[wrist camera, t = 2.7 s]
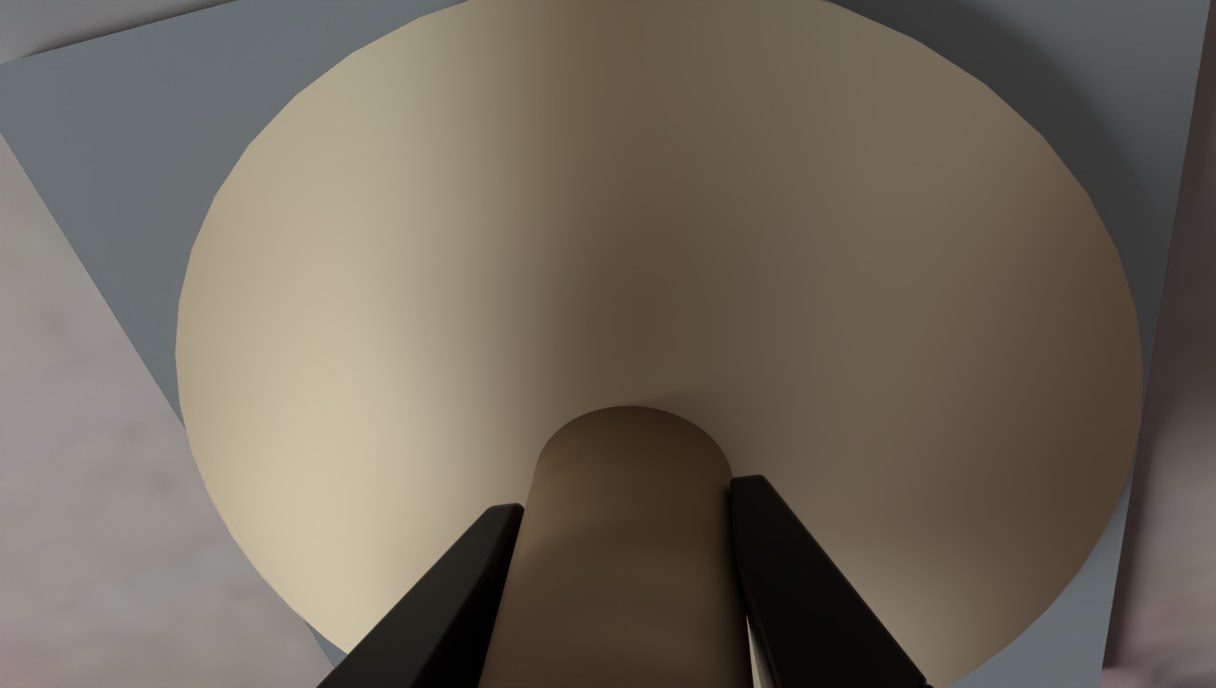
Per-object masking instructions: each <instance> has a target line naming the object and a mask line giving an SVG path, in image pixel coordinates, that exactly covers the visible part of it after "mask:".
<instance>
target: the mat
mask: <svg viewBox="0 0 1216 688" xmlns="http://www.w3.org/2000/svg"><path fill="white" fill-rule="evenodd" d="M466 1H469V0H236V1H232V2H228V3H225V4H221V5H217V6H214V7H210V8H206V9H202V10H199V11H195V12H191V13H188V14H184V15H180V16H176V17H173V18H169V19H165V20H162V21H158V22H154V23H150V24H147V25H143V26H139V27H136V28H132V29H128V30H124V31H121V32H117V33H113V34H110V35H106V36H102V37H98V38H95V39H91V40H87V41H84V42H80V43H76V44H72V45H69V46H65V47H61V48H58V49H54V50H50V51H47V52H43V53H39V54H35V55H32V56H28V57H24V58H21V59H17V60H13V61H9V62H6V63H2V64H0V132H1V134H2V135H3V137H4V139H5V140H6V142H7V143H8V145H9V147H10V148H11V150H12V151H13V153H14V155H15V156H16V158H17V159H18V161H19V163H20V164H21V166H22V167H23V169H24V171H25V172H26V174H27V175H28V177H29V179H30V180H31V182H32V183H33V185H34V187H35V188H36V190H37V192H38V193H39V195H40V196H41V198H42V200H43V201H44V203H45V204H46V206H47V208H48V209H49V211H50V212H51V214H52V216H53V217H54V219H55V220H56V222H57V224H58V225H59V227H60V228H61V230H62V232H63V233H64V235H65V236H66V238H67V240H68V241H69V243H70V245H71V246H72V248H73V249H74V251H75V253H76V254H77V256H78V257H79V259H80V261H81V262H82V264H83V265H84V267H85V269H86V270H87V272H88V273H89V275H90V277H91V278H92V280H93V281H94V283H95V285H96V286H97V288H98V290H99V291H100V293H101V294H102V296H103V298H104V299H105V301H106V302H107V304H108V306H109V307H110V309H111V310H112V312H113V314H114V315H115V317H116V318H117V320H118V322H119V323H120V325H121V326H122V328H123V330H124V331H125V333H126V334H127V336H128V338H129V339H130V341H131V343H132V344H133V346H134V347H135V349H136V351H137V352H138V354H139V355H140V357H141V359H142V360H143V362H144V363H145V365H146V367H147V368H148V370H149V371H150V373H151V375H152V376H153V378H154V379H155V381H156V383H157V384H158V386H159V387H160V389H161V391H162V392H163V394H164V396H165V397H166V399H167V400H168V402H169V404H170V405H171V407H172V408H173V410H174V412H175V413H176V415H177V416H178V418H179V420H180V421H181V423H182V424H183V426H184V428H185V429H186V427H185V423H184V419H183V415H182V411H181V407H180V401H179V390H178V379H177V368H176V358H175V350H176V336H177V322H178V307H179V300H180V296H181V292H182V287H183V283H184V279H185V275H186V271H187V267H188V263H189V259H190V254H191V250H192V248H193V245H194V243H195V241H196V238H197V236H198V234H199V232H200V229H201V227H202V225H203V222H204V220H205V218H206V216H207V213H208V211H209V209H210V206H211V204H212V202H213V199H214V197H215V195H216V194H217V192H218V191H219V189H220V188H221V186H222V185H223V183H224V182H225V180H226V179H227V177H228V176H229V174H230V173H231V171H232V170H233V168H234V167H235V165H236V164H237V162H238V161H239V159H240V158H241V156H242V155H243V153H244V152H245V150H246V149H247V147H248V146H249V144H250V143H251V142H252V141H253V140H254V139H255V138H256V137H257V136H258V135H259V134H260V133H261V132H262V130H263V129H264V128H265V127H266V126H267V125H268V124H269V123H270V122H271V121H272V120H273V119H274V118H275V117H276V116H277V115H278V114H279V112H280V111H281V110H282V109H283V108H284V107H285V106H286V105H287V104H288V103H289V102H290V101H291V100H292V99H293V98H294V97H295V96H296V95H297V94H298V93H300V92H301V91H302V90H304V89H305V88H306V87H308V86H309V85H310V84H312V83H313V82H314V81H316V80H317V79H318V78H320V77H321V76H322V75H324V74H325V73H326V72H328V71H329V70H330V69H332V68H333V67H334V66H335V65H337V64H338V63H339V62H341V61H342V60H343V59H345V58H346V57H347V56H349V55H350V54H351V53H353V52H355V51H357V50H359V49H361V48H363V47H364V46H366V45H368V44H370V43H372V42H374V41H376V40H378V39H380V38H381V37H383V36H385V35H387V34H389V33H391V32H393V31H395V30H397V29H399V28H400V27H402V26H404V25H406V24H408V23H410V22H412V21H414V20H416V19H417V18H419V17H422V16H425V15H428V14H431V13H434V12H437V11H440V10H442V9H445V8H448V7H451V6H454V5H457V4H460V3H463V2H466ZM828 1H830V2H833V3H835V4H837V5H839V6H842V7H844V8H846V9H848V10H851V11H853V12H855V13H857V14H860V15H862V16H864V17H867V18H869V19H871V20H873V21H876V22H878V23H880V24H882V25H885V26H887V27H889V28H891V29H894V30H896V31H898V32H900V33H902V34H904V35H907V36H909V37H911V38H913V39H915V40H917V41H919V42H920V43H922V44H924V45H925V46H927V47H928V48H930V49H931V50H933V51H934V52H936V53H938V54H939V55H941V56H942V57H944V58H945V59H947V60H948V61H950V62H952V63H953V64H955V65H956V66H958V67H959V68H961V69H962V70H964V71H965V72H967V73H969V74H970V75H972V76H973V77H975V78H976V79H978V80H979V81H981V82H983V83H984V84H986V85H987V86H988V87H989V88H990V89H991V90H992V91H993V92H995V93H996V94H997V95H998V96H999V97H1000V98H1001V99H1002V100H1003V101H1004V102H1006V103H1007V104H1008V105H1009V106H1010V107H1011V108H1012V109H1013V110H1014V111H1015V112H1017V113H1018V114H1019V115H1020V116H1021V117H1022V118H1023V119H1024V120H1025V121H1027V122H1028V123H1029V124H1030V125H1031V126H1032V127H1033V128H1034V129H1035V130H1036V131H1038V132H1039V133H1040V134H1041V135H1042V136H1043V137H1044V138H1045V140H1046V141H1047V142H1048V144H1049V145H1050V146H1051V147H1052V149H1053V150H1054V151H1055V153H1056V154H1057V155H1058V156H1059V158H1060V159H1061V160H1062V162H1063V163H1064V164H1065V165H1066V167H1067V168H1068V169H1069V171H1070V172H1071V173H1072V174H1073V176H1074V177H1075V178H1076V179H1077V181H1078V182H1079V183H1080V185H1081V186H1082V187H1083V188H1084V190H1085V191H1086V192H1087V194H1088V196H1089V198H1090V200H1091V202H1092V203H1093V205H1094V207H1095V209H1096V211H1097V213H1098V215H1099V217H1100V219H1101V221H1102V222H1103V224H1104V226H1105V228H1106V230H1107V232H1108V234H1109V236H1110V238H1111V240H1112V241H1113V243H1114V245H1115V247H1116V249H1117V251H1118V254H1119V257H1120V260H1121V263H1122V266H1123V270H1124V273H1125V276H1126V279H1127V282H1128V286H1129V289H1130V292H1131V295H1132V299H1133V302H1134V305H1135V308H1136V311H1137V319H1138V328H1139V336H1140V345H1141V353H1142V362H1143V386H1142V402H1141V417H1140V428H1139V432H1138V436H1137V440H1136V445H1135V449H1134V453H1133V457H1132V461H1131V465H1130V469H1129V474H1128V478H1127V480H1126V483H1125V485H1124V487H1123V490H1122V492H1121V495H1120V497H1119V499H1118V502H1117V504H1116V506H1115V509H1114V511H1113V513H1112V516H1111V518H1110V521H1109V523H1108V525H1107V527H1106V529H1105V531H1104V532H1103V534H1102V535H1101V537H1100V539H1099V540H1098V542H1097V544H1096V545H1095V547H1094V548H1093V550H1092V552H1091V553H1090V555H1089V557H1088V558H1087V560H1086V561H1085V563H1084V565H1083V566H1082V568H1081V570H1080V571H1079V572H1078V573H1077V575H1076V576H1075V577H1074V578H1073V579H1072V581H1071V582H1070V583H1069V584H1068V585H1067V587H1066V588H1065V589H1064V590H1063V591H1062V593H1061V594H1060V595H1059V596H1058V598H1057V599H1056V600H1055V601H1054V602H1053V604H1052V605H1051V606H1050V607H1049V608H1048V609H1047V610H1046V611H1045V612H1044V613H1043V614H1042V615H1041V616H1040V617H1039V618H1038V619H1037V620H1036V621H1035V622H1034V623H1033V624H1031V625H1030V626H1029V627H1028V628H1027V629H1026V630H1025V631H1024V632H1023V633H1022V634H1021V635H1020V636H1019V637H1018V638H1017V639H1015V640H1014V641H1013V642H1012V643H1011V644H1010V645H1008V646H1007V647H1005V648H1004V649H1003V650H1001V651H1000V652H999V653H997V654H996V655H995V656H993V657H992V658H991V659H989V660H988V661H987V662H985V663H984V664H983V665H981V666H980V667H979V668H977V669H976V670H974V671H973V672H971V673H970V674H968V675H966V676H965V677H963V678H961V679H959V680H958V681H956V682H954V683H953V684H951V685H949V686H948V687H946V688H1099V683H1100V677H1101V671H1102V665H1103V659H1104V652H1105V646H1106V640H1107V634H1108V628H1109V622H1110V616H1111V609H1112V603H1113V597H1114V591H1115V585H1116V579H1117V573H1118V566H1119V560H1120V554H1121V548H1122V542H1123V536H1124V529H1125V523H1126V517H1127V511H1128V505H1129V499H1130V493H1131V486H1132V480H1133V474H1134V468H1135V462H1136V456H1137V450H1138V443H1139V437H1140V431H1141V425H1142V419H1143V413H1144V406H1145V400H1146V394H1147V388H1148V382H1149V376H1150V370H1151V363H1152V357H1153V351H1154V345H1155V339H1156V333H1157V326H1158V320H1159V314H1160V308H1161V302H1162V296H1163V290H1164V283H1165V277H1166V271H1167V265H1168V259H1169V253H1170V247H1171V240H1172V234H1173V228H1174V222H1175V216H1176V210H1177V203H1178V197H1179V191H1180V185H1181V179H1182V173H1183V167H1184V160H1185V154H1186V148H1187V142H1188V136H1189V130H1190V124H1191V117H1192V111H1193V105H1194V99H1195V93H1196V87H1197V80H1198V74H1199V68H1200V62H1201V56H1202V50H1203V44H1204V37H1205V31H1206V25H1207V19H1208V13H1209V7H1210V1H1211V0H828ZM305 622H306V624H307V625H308V627H309V628H310V630H311V632H312V633H313V635H314V636H315V638H316V640H317V641H318V643H319V644H320V646H321V648H322V649H323V651H324V652H325V654H326V656H327V657H328V659H329V661H330V662H331V664H332V665H333V667H334V668H335V667H336V666H337V665H338V664H339V663H340V662H341V661H342V660H343V659H344V658H345V657H346V656H347V655H348V654H347V653H345V652H344V651H343V650H341V649H340V648H338V647H337V646H336V645H334V644H333V643H332V642H330V641H329V640H327V639H326V638H325V637H324V636H322V635H321V634H320V633H319V632H318V631H317V630H316V629H315V628H313V627H312V626H311V625H310V624H309V623H308V622H307V621H305Z"/></svg>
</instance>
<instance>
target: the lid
mask: <svg viewBox="0 0 1216 688" xmlns="http://www.w3.org/2000/svg"><path fill="white" fill-rule="evenodd" d="M175 358H176V368H177V379H178V390H179V401H180V407H181V411H182V415H183V419H184V423H185V427H186V431H187V435H188V440H189V444H190V448H191V452H192V454H193V457H194V459H195V461H196V464H197V466H198V469H199V471H200V474H201V476H202V479H203V481H204V484H205V486H206V489H207V491H208V494H209V496H210V498H211V500H212V501H213V503H214V505H215V507H216V508H217V510H218V512H219V514H220V516H221V517H222V519H223V521H224V523H225V524H226V526H227V528H228V530H229V531H230V533H231V535H232V537H233V538H234V539H235V541H236V542H237V544H238V545H239V546H240V548H241V549H242V550H243V552H244V553H245V554H246V556H247V557H248V558H249V560H250V561H251V563H252V564H253V565H254V567H255V568H256V569H257V571H258V572H259V573H260V575H261V576H262V577H263V578H264V579H265V580H266V581H267V582H268V583H269V584H270V585H271V587H272V588H273V589H274V590H275V591H276V592H277V593H278V594H279V595H280V596H281V597H282V599H283V600H284V601H285V602H286V603H287V604H288V605H289V606H290V607H291V608H292V609H293V610H294V611H295V612H296V613H298V614H299V615H300V616H301V617H302V618H303V619H304V620H305V621H307V622H308V623H309V624H310V625H311V626H312V627H313V628H315V629H316V630H317V631H318V632H319V633H320V634H321V635H322V636H324V637H325V638H326V639H327V640H329V641H330V642H332V643H333V644H334V645H336V646H337V647H338V648H340V649H341V650H343V651H344V652H345V653H347V654H349V653H350V652H351V650H352V649H353V648H354V647H355V646H356V645H357V644H358V643H359V642H360V641H361V640H362V639H363V638H364V637H365V636H366V635H367V634H368V633H369V632H370V631H371V630H372V628H373V627H374V626H375V625H376V624H377V623H378V622H379V621H380V620H381V619H382V618H383V617H384V616H385V615H386V614H387V613H388V612H389V611H390V610H391V609H392V608H393V606H394V605H395V604H396V603H397V602H398V601H399V600H400V599H401V598H402V597H403V596H404V595H405V594H406V593H407V592H408V591H409V590H410V589H411V588H412V587H413V586H414V585H415V583H416V582H417V581H418V580H419V579H420V578H421V577H422V576H423V575H424V574H425V573H426V572H427V571H428V570H429V569H430V568H431V567H432V566H433V565H434V564H435V563H436V561H437V560H438V559H439V558H440V557H441V556H442V555H443V554H444V553H445V552H446V551H447V550H448V549H449V548H450V547H451V546H452V545H453V544H454V543H455V542H456V541H457V539H458V538H459V537H460V536H461V535H462V534H463V533H464V532H465V531H466V530H467V529H468V528H469V527H470V526H471V525H472V524H473V523H474V522H475V521H476V520H477V519H478V517H479V516H480V515H481V514H482V513H483V512H484V511H485V510H486V509H487V508H489V507H490V506H493V505H500V504H508V503H519V504H521V505H522V506H523V507H524V509H525V510H524V514H523V518H522V522H521V525H520V529H519V533H518V537H517V541H516V544H515V548H514V552H513V556H512V560H511V563H510V567H509V571H508V575H507V579H506V582H505V586H504V590H503V594H502V598H501V601H500V605H499V609H498V613H497V617H496V620H495V624H494V628H493V632H492V636H491V639H490V643H489V647H488V651H487V655H486V658H485V662H484V666H483V670H482V674H481V677H480V681H479V685H478V688H761V684H760V680H759V675H758V671H757V666H756V661H755V656H754V651H753V646H752V640H751V635H750V630H749V625H748V619H747V614H746V608H745V603H744V598H743V593H742V588H741V583H740V578H739V573H738V567H737V562H736V557H735V551H734V543H733V530H732V516H731V501H730V486H729V484H730V480H731V479H732V478H733V477H739V476H747V475H756V474H761V475H763V476H765V477H766V478H767V479H768V480H769V482H770V483H771V484H772V485H773V487H774V488H775V489H776V491H777V492H778V493H779V494H780V496H781V497H782V498H783V499H784V501H785V502H786V503H787V504H788V506H789V507H790V508H791V509H792V511H793V512H794V513H795V514H796V516H797V517H798V518H799V519H800V521H801V522H802V523H803V524H804V526H805V527H806V528H807V529H808V531H809V532H810V533H811V534H812V536H813V537H814V538H815V539H816V541H817V542H818V543H819V544H820V546H821V547H822V548H823V549H824V551H825V552H826V553H827V554H828V556H829V557H830V558H831V560H832V561H833V562H834V563H835V565H836V566H837V567H838V568H839V570H840V571H841V572H842V573H843V575H844V576H845V577H846V578H847V580H848V581H849V582H850V583H851V585H852V586H853V587H854V588H855V590H856V591H857V592H858V593H859V595H860V596H861V597H862V598H863V600H864V601H865V602H866V603H867V605H868V606H869V607H870V608H871V610H872V611H873V612H874V613H875V615H876V616H877V617H878V618H879V620H880V621H881V622H882V623H883V625H884V626H885V627H886V629H887V630H888V631H889V632H890V634H891V635H892V636H893V637H894V639H895V640H896V641H897V642H898V644H899V645H900V646H901V647H902V649H903V650H904V651H905V652H906V654H907V655H908V656H909V657H910V659H911V660H912V661H913V662H914V664H915V665H916V666H917V667H918V669H919V670H920V671H921V672H922V674H923V675H924V676H925V677H926V679H927V684H930V685H932V686H933V687H934V688H946V687H948V686H949V685H951V684H953V683H954V682H956V681H958V680H959V679H961V678H963V677H965V676H966V675H968V674H970V673H971V672H973V671H974V670H976V669H977V668H979V667H980V666H981V665H983V664H984V663H985V662H987V661H988V660H989V659H991V658H992V657H993V656H995V655H996V654H997V653H999V652H1000V651H1001V650H1003V649H1004V648H1005V647H1007V646H1008V645H1010V644H1011V643H1012V642H1013V641H1014V640H1015V639H1017V638H1018V637H1019V636H1020V635H1021V634H1022V633H1023V632H1024V631H1025V630H1026V629H1027V628H1028V627H1029V626H1030V625H1031V624H1033V623H1034V622H1035V621H1036V620H1037V619H1038V618H1039V617H1040V616H1041V615H1042V614H1043V613H1044V612H1045V611H1046V610H1047V609H1048V608H1049V607H1050V606H1051V605H1052V604H1053V602H1054V601H1055V600H1056V599H1057V598H1058V596H1059V595H1060V594H1061V593H1062V591H1063V590H1064V589H1065V588H1066V587H1067V585H1068V584H1069V583H1070V582H1071V581H1072V579H1073V578H1074V577H1075V576H1076V575H1077V573H1078V572H1079V571H1080V570H1081V568H1082V566H1083V565H1084V563H1085V561H1086V560H1087V558H1088V557H1089V555H1090V553H1091V552H1092V550H1093V548H1094V547H1095V545H1096V544H1097V542H1098V540H1099V539H1100V537H1101V535H1102V534H1103V532H1104V531H1105V529H1106V527H1107V525H1108V523H1109V521H1110V518H1111V516H1112V513H1113V511H1114V509H1115V506H1116V504H1117V502H1118V499H1119V497H1120V495H1121V492H1122V490H1123V487H1124V485H1125V483H1126V480H1127V478H1128V474H1129V469H1130V465H1131V461H1132V457H1133V453H1134V449H1135V445H1136V440H1137V436H1138V432H1139V428H1140V417H1141V402H1142V386H1143V362H1142V353H1141V345H1140V336H1139V328H1138V319H1137V311H1136V308H1135V305H1134V302H1133V299H1132V295H1131V292H1130V289H1129V286H1128V282H1127V279H1126V276H1125V273H1124V270H1123V266H1122V263H1121V260H1120V257H1119V254H1118V251H1117V249H1116V247H1115V245H1114V243H1113V241H1112V240H1111V238H1110V236H1109V234H1108V232H1107V230H1106V228H1105V226H1104V224H1103V222H1102V221H1101V219H1100V217H1099V215H1098V213H1097V211H1096V209H1095V207H1094V205H1093V203H1092V202H1091V200H1090V198H1089V196H1088V194H1087V192H1086V191H1085V190H1084V188H1083V187H1082V186H1081V185H1080V183H1079V182H1078V181H1077V179H1076V178H1075V177H1074V176H1073V174H1072V173H1071V172H1070V171H1069V169H1068V168H1067V167H1066V165H1065V164H1064V163H1063V162H1062V160H1061V159H1060V158H1059V156H1058V155H1057V154H1056V153H1055V151H1054V150H1053V149H1052V147H1051V146H1050V145H1049V144H1048V142H1047V141H1046V140H1045V138H1044V137H1043V136H1042V135H1041V134H1040V133H1039V132H1038V131H1036V130H1035V129H1034V128H1033V127H1032V126H1031V125H1030V124H1029V123H1028V122H1027V121H1025V120H1024V119H1023V118H1022V117H1021V116H1020V115H1019V114H1018V113H1017V112H1015V111H1014V110H1013V109H1012V108H1011V107H1010V106H1009V105H1008V104H1007V103H1006V102H1004V101H1003V100H1002V99H1001V98H1000V97H999V96H998V95H997V94H996V93H995V92H993V91H992V90H991V89H990V88H989V87H988V86H987V85H986V84H984V83H983V82H981V81H979V80H978V79H976V78H975V77H973V76H972V75H970V74H969V73H967V72H965V71H964V70H962V69H961V68H959V67H958V66H956V65H955V64H953V63H952V62H950V61H948V60H947V59H945V58H944V57H942V56H941V55H939V54H938V53H936V52H934V51H933V50H931V49H930V48H928V47H927V46H925V45H924V44H922V43H920V42H919V41H917V40H915V39H913V38H911V37H909V36H907V35H904V34H902V33H900V32H898V31H896V30H894V29H891V28H889V27H887V26H885V25H882V24H880V23H878V22H876V21H873V20H871V19H869V18H867V17H864V16H862V15H860V14H857V13H855V12H853V11H851V10H848V9H846V8H844V7H842V6H839V5H837V4H835V3H833V2H830V1H828V0H469V1H466V2H463V3H460V4H457V5H454V6H451V7H448V8H445V9H442V10H440V11H437V12H434V13H431V14H428V15H425V16H422V17H419V18H417V19H416V20H414V21H412V22H410V23H408V24H406V25H404V26H402V27H400V28H399V29H397V30H395V31H393V32H391V33H389V34H387V35H385V36H383V37H381V38H380V39H378V40H376V41H374V42H372V43H370V44H368V45H366V46H364V47H363V48H361V49H359V50H357V51H355V52H353V53H351V54H350V55H349V56H347V57H346V58H345V59H343V60H342V61H341V62H339V63H338V64H337V65H335V66H334V67H333V68H332V69H330V70H329V71H328V72H326V73H325V74H324V75H322V76H321V77H320V78H318V79H317V80H316V81H314V82H313V83H312V84H310V85H309V86H308V87H306V88H305V89H304V90H302V91H301V92H300V93H298V94H297V95H296V96H295V97H294V98H293V99H292V100H291V101H290V102H289V103H288V104H287V105H286V106H285V107H284V108H283V109H282V110H281V111H280V112H279V114H278V115H277V116H276V117H275V118H274V119H273V120H272V121H271V122H270V123H269V124H268V125H267V126H266V127H265V128H264V129H263V130H262V132H261V133H260V134H259V135H258V136H257V137H256V138H255V139H254V140H253V141H252V142H251V143H250V144H249V146H248V147H247V149H246V150H245V152H244V153H243V155H242V156H241V158H240V159H239V161H238V162H237V164H236V165H235V167H234V168H233V170H232V171H231V173H230V174H229V176H228V177H227V179H226V180H225V182H224V183H223V185H222V186H221V188H220V189H219V191H218V192H217V194H216V195H215V197H214V199H213V202H212V204H211V206H210V209H209V211H208V213H207V216H206V218H205V220H204V222H203V225H202V227H201V229H200V232H199V234H198V236H197V238H196V241H195V243H194V245H193V248H192V250H191V254H190V259H189V263H188V267H187V271H186V275H185V279H184V283H183V287H182V292H181V296H180V300H179V307H178V322H177V336H176V350H175Z"/></svg>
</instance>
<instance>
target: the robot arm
mask: <svg viewBox="0 0 1216 688" xmlns="http://www.w3.org/2000/svg"><path fill="white" fill-rule="evenodd" d="M729 486H730V501H731V516H732V530H733V543H734V551H735V557H736V562H737V567H738V573H739V578H740V583H741V588H742V593H743V598H744V603H745V608H746V614H747V619H748V625H749V630H750V635H751V640H752V646H753V651H754V656H755V661H756V666H757V671H758V675H759V680H760V684H761V688H934V687H933V686H932V685H930V684H927V679H926V677H925V676H924V675H923V674H922V672H921V671H920V670H919V669H918V667H917V666H916V665H915V664H914V662H913V661H912V660H911V659H910V657H909V656H908V655H907V654H906V652H905V651H904V650H903V649H902V647H901V646H900V645H899V644H898V642H897V641H896V640H895V639H894V637H893V636H892V635H891V634H890V632H889V631H888V630H887V629H886V627H885V626H884V625H883V623H882V622H881V621H880V620H879V618H878V617H877V616H876V615H875V613H874V612H873V611H872V610H871V608H870V607H869V606H868V605H867V603H866V602H865V601H864V600H863V598H862V597H861V596H860V595H859V593H858V592H857V591H856V590H855V588H854V587H853V586H852V585H851V583H850V582H849V581H848V580H847V578H846V577H845V576H844V575H843V573H842V572H841V571H840V570H839V568H838V567H837V566H836V565H835V563H834V562H833V561H832V560H831V558H830V557H829V556H828V554H827V553H826V552H825V551H824V549H823V548H822V547H821V546H820V544H819V543H818V542H817V541H816V539H815V538H814V537H813V536H812V534H811V533H810V532H809V531H808V529H807V528H806V527H805V526H804V524H803V523H802V522H801V521H800V519H799V518H798V517H797V516H796V514H795V513H794V512H793V511H792V509H791V508H790V507H789V506H788V504H787V503H786V502H785V501H784V499H783V498H782V497H781V496H780V494H779V493H778V492H777V491H776V489H775V488H774V487H773V485H772V484H771V483H770V482H769V480H768V479H767V478H766V477H765V476H763V475H761V474H756V475H747V476H739V477H733V478H732V479H731V480H730V484H729ZM524 510H525V509H524V507H523V506H522V505H521V504H519V503H508V504H500V505H493V506H490V507H489V508H487V509H486V510H485V511H484V512H483V513H482V514H481V515H480V516H479V517H478V519H477V520H476V521H475V522H474V523H473V524H472V525H471V526H470V527H469V528H468V529H467V530H466V531H465V532H464V533H463V534H462V535H461V536H460V537H459V538H458V539H457V541H456V542H455V543H454V544H453V545H452V546H451V547H450V548H449V549H448V550H447V551H446V552H445V553H444V554H443V555H442V556H441V557H440V558H439V559H438V560H437V561H436V563H435V564H434V565H433V566H432V567H431V568H430V569H429V570H428V571H427V572H426V573H425V574H424V575H423V576H422V577H421V578H420V579H419V580H418V581H417V582H416V583H415V585H414V586H413V587H412V588H411V589H410V590H409V591H408V592H407V593H406V594H405V595H404V596H403V597H402V598H401V599H400V600H399V601H398V602H397V603H396V604H395V605H394V606H393V608H392V609H391V610H390V611H389V612H388V613H387V614H386V615H385V616H384V617H383V618H382V619H381V620H380V621H379V622H378V623H377V624H376V625H375V626H374V627H373V628H372V630H371V631H370V632H369V633H368V634H367V635H366V636H365V637H364V638H363V639H362V640H361V641H360V642H359V643H358V644H357V645H356V646H355V647H354V648H353V649H352V650H351V652H350V653H349V654H348V655H347V656H346V657H345V658H344V659H343V660H342V661H341V662H340V663H339V664H338V665H337V666H336V667H335V668H334V669H333V670H332V671H331V672H330V674H329V675H328V676H327V677H326V678H325V679H324V680H323V681H322V682H321V683H320V684H319V685H318V686H317V687H316V688H478V685H479V681H480V677H481V674H482V670H483V666H484V662H485V658H486V655H487V651H488V647H489V643H490V639H491V636H492V632H493V628H494V624H495V620H496V617H497V613H498V609H499V605H500V601H501V598H502V594H503V590H504V586H505V582H506V579H507V575H508V571H509V567H510V563H511V560H512V556H513V552H514V548H515V544H516V541H517V537H518V533H519V529H520V525H521V522H522V518H523V514H524Z"/></svg>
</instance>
